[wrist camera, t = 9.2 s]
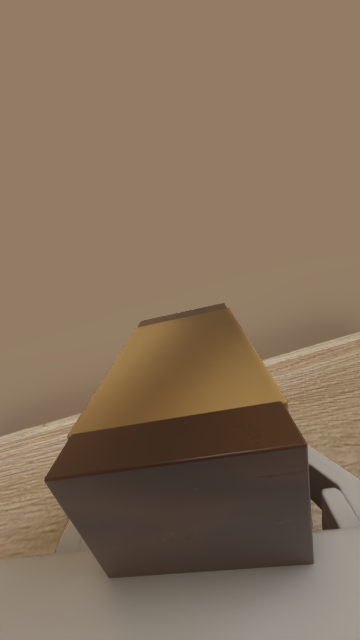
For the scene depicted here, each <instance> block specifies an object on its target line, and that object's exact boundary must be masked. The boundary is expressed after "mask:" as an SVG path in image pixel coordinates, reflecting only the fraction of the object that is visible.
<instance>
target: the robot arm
mask: <svg viewBox="0 0 360 640" xmlns="http://www.w3.org/2000/svg"><path fill="white" fill-rule="evenodd" d="M307 446H308V463H309V481H310V499H311V500H312V501H313V502H314V503H315V504H316V505H317V506H319V507H320V508H321V509H322V530H319V531H312V534H313V552H314V564H309V565H295V566H280V567H266V568H252V569H237V570H223V571H208V572H194V573H179V574H165V575H150V576H136V577H121V578H108V576H107V575H106V573H105V572H104V570H103V569H102V567H101V566H100V564H99V563H98V561H97V560H96V558H95V557H94V555H93V554H92V552H91V551H90V549H89V548H88V546H87V545H86V543H85V542H84V540H83V539H82V537H81V536H80V534H79V533H78V531H77V530H76V528H75V527H74V525H73V524H72V522H71V521H70V519H69V520H68V522H67V525H66V527H65V529H64V531H63V534H62V536H61V538H60V541H59V543H58V545H57V547H56V550H55V552H54V554H46V555H35V556H23V557H12V558H0V640H360V479H358V478H357V477H355V476H354V475H352V474H351V473H349V472H348V471H346V470H345V469H343V468H342V467H340V466H339V465H337V464H336V463H334V462H333V461H331V460H330V459H328V458H327V457H325V456H324V455H322V454H321V453H319V452H318V451H317V450H315V449H314V448H312V447H311V446H309V445H308V444H307Z"/></svg>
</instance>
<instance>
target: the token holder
mask: <svg viewBox="0 0 360 640" xmlns="http://www.w3.org/2000/svg"><path fill="white" fill-rule="evenodd" d="M67 438H68V441H67V443H66V445H65V446H64V448H63V450H62V451H61V453H60V454H59V456H58V458H57V459H56V461H55V463H54V464H53V466H52V467H51V469H50V471H49V472H48V474H47V476H46V477H45V480H44V481H45V483H46V484H47V486H48V487H49V489H50V490H51V492H52V493H53V495H54V496H55V498H56V499H57V501H58V503H59V504H60V506H61V507H62V509H63V510H64V512H65V513H66V515H67V516H68V518H69V519H70V521H71V522H72V524H73V525H74V527H75V528H76V530H77V531H78V533H79V534H80V536H81V537H82V539H83V540H84V542H85V543H86V545H87V546H88V548H89V549H90V551H91V552H92V554H93V555H94V557H95V558H96V560H97V561H98V563H99V564H100V566H101V567H102V569H103V570H104V572H105V573H106V575H107V576H108V578H121V577H136V576H150V575H165V574H179V573H194V572H208V571H223V570H237V569H252V568H266V567H280V566H295V565H309V564H314V552H313V534H312V517H311V499H310V481H309V463H308V446H307V443H306V441H305V439H304V438H303V436H302V434H301V433H300V431H299V429H298V428H297V426H296V424H295V423H294V421H293V419H292V417H291V416H290V414H289V412H288V402H287V400H286V399H285V397H284V395H283V394H282V392H281V391H280V389H279V387H278V386H277V384H276V383H275V381H274V379H273V378H272V376H271V374H270V373H269V371H268V370H267V368H266V366H265V365H264V363H263V362H262V360H261V358H260V357H259V355H258V354H257V352H256V350H255V349H254V347H253V346H252V344H251V342H250V341H249V339H248V338H247V336H246V334H245V333H244V331H243V329H242V328H241V326H240V325H239V323H238V321H237V320H236V318H235V317H234V315H233V313H232V312H231V310H230V309H229V308H227V307H226V305H225V304H224V303H222V304H218V305H213V306H209V307H204V308H200V309H195V310H190V311H186V312H181V313H176V314H172V315H167V316H163V317H158V318H154V319H149V320H144V321H141V322H140V324H139V326H138V327H137V328H135V330H134V331H133V333H132V334H131V336H130V338H129V339H128V341H127V343H126V344H125V345H124V347H123V349H122V350H121V352H120V353H119V355H118V357H117V358H116V360H115V361H114V363H113V365H112V366H111V368H110V369H109V371H108V372H107V374H106V376H105V377H104V379H103V380H102V382H101V384H100V385H99V387H98V388H97V390H96V392H95V393H94V395H93V396H92V398H91V400H90V401H89V403H88V404H87V406H86V407H85V409H84V411H83V412H82V414H81V415H80V417H79V418H78V420H77V422H76V423H75V425H74V426H73V428H72V430H71V431H70V433H69V434H68V437H67Z"/></svg>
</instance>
